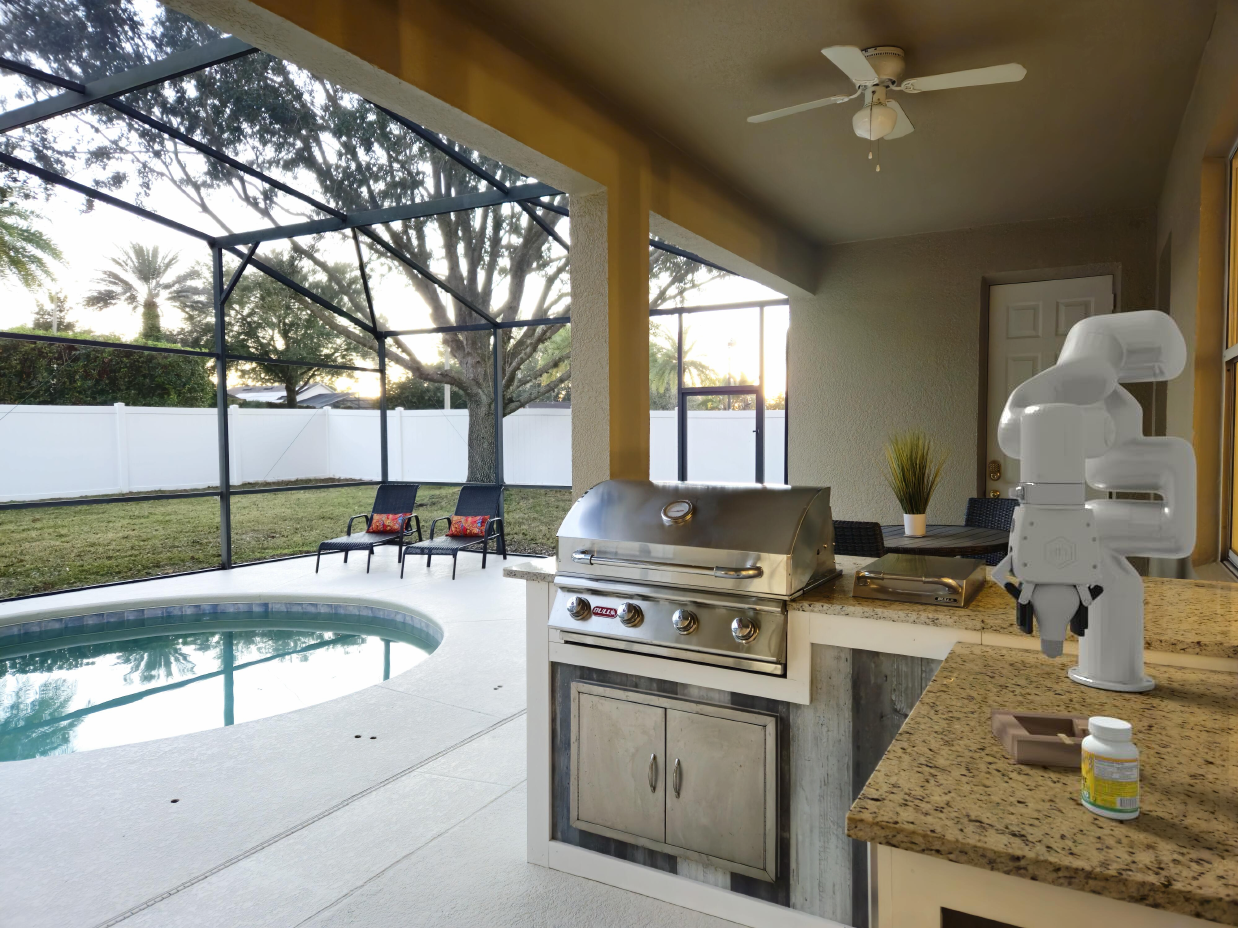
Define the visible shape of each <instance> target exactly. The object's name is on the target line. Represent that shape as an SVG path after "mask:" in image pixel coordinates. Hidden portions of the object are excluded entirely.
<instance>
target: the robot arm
mask: <svg viewBox="0 0 1238 928" xmlns="http://www.w3.org/2000/svg"><path fill="white" fill-rule="evenodd" d="M1059 354H1060V355H1059V356H1058V359H1057V361H1056V364H1055V365H1053V366H1050V367H1049V368H1047V369H1045V370H1043V371H1041V372H1040V373H1038V374H1036V375H1034V376H1032V377H1031V378H1028V379H1027V380H1025V381H1024V382H1023V383H1021V384H1019V385H1018V386H1017V387H1016V388H1015V389H1014V390H1013V391H1012V392H1011V394H1010V395H1009V397H1008V399H1007V402H1006V404H1005V405H1004V408H1003V411H1002V413H1001V416H1000V419H999V423H998V426H997V443H998V445H999V448H1000V449H1001V451H1002V452H1003V454H1004V455H1006V456H1008V457H1009V458H1011V459H1017V460H1020V462H1019V463H1020V464H1019V465H1020V482H1019V483H1018V486H1015V487H1010V488H1009V489H1008V497H1009V498H1010V499H1011V498H1012V499H1015V500H1017V501H1018V503H1019V504H1020V506H1015V507H1014V511H1013V515H1012V519H1011V525H1010V530H1009V531H1010V532H1009V538H1008V540H1009V541H1008V549H1007V550H1008V551H1007V555H1006V556H1005V557H1004V558H1003V559H1002V560H1001V561H1000V562H999V563H998V564H997V565H996V566H995V567H994V568H993V569H992V570H991V571H990V572H989V577H990V578H991V579H992V580H993V581H994V582H996V583H997V584H998V585H999V586H1000V587H1001V588H1002V589H1004V591H1005V592H1007V594H1009V595H1010V597H1012V598H1013V600H1015V602H1016V603H1015V605H1016V606H1015V607H1016V609H1015V611H1016V612H1015V613H1016V614H1015V615H1016V616H1015V622H1016V626H1017V627H1019V629H1020V631H1021V632H1022V633H1024V634H1026V635H1033V633H1034V615H1033V605H1032V604H1030V596H1031V593H1032V591H1033V588H1034V586H1035V584H1063V585H1073V586H1074V587H1075V588H1076V590H1077V592H1078V595H1079V607H1078V609H1077V611H1076V613H1075V614H1074V616H1073V617H1072V619H1071V620H1070V622H1069V630H1070V632H1071V633H1072V634H1073V635H1076V636H1077V637H1078V665H1077V666H1073V667H1072V666H1071V667H1070V668H1069V669H1068V670H1067V671H1068V673H1067V675H1068V676H1067V677H1068V678H1069V679H1070V680H1072V681H1074V682H1076V683H1079V684H1081V685H1085V686H1088V687H1092V688H1098V689H1103V690H1109V691H1118V692H1120V691H1121V692H1132V693H1133V692H1135V693H1136V692H1137V693H1138V692H1146V691H1150V690H1153V689H1154V688H1155V686H1156V685H1155V682H1156V681H1155V680H1154V678H1153V677H1151V676H1150V675H1147V674H1144V657H1145V656H1144V647H1145V646H1144V641H1145V640H1144V639H1145V638H1144V637H1145V636H1144V629H1145V628H1144V627H1145V626H1144V622H1145V619H1144V616H1145V615H1144V612H1145V611H1144V608H1145V607H1144V606H1145V605H1144V602H1145V601H1144V595H1145V594H1144V593H1145V592H1144V590H1145V588H1144V582H1143V580H1142V577H1141V576H1140V574H1139V571H1137V570H1136V568H1135V567H1133V565H1132V564H1131V563H1130V562H1129V561H1128V560H1127V558H1126V557H1141V558H1142V557H1143V558H1144V557H1145V558H1156V559H1158V558H1159V559H1183V558H1186V557H1189V556H1190V555H1191V554H1192V553H1193V552H1194V550H1195V545H1196V541H1197V512H1198V511H1197V501H1198V500H1197V493H1198V492H1197V490H1198V489H1197V488H1198V485H1197V483H1198V482H1197V481H1198V480H1197V479H1198V478H1197V477H1198V474H1197V473H1198V472H1197V458H1196V455H1195V450H1194V448H1193V446H1192V444H1191V443H1190V442H1189V441H1188V440H1186V439H1185V438H1182V437H1178V436H1168V435H1167V436H1144V434H1143V416H1144V415H1143V408H1142V405H1141V404H1140V403H1139V402H1138V400H1137V399H1136V398H1135V397H1134V396H1133V395H1132V394H1131V393H1130V392H1129V391H1128V390H1127V389H1125V388H1124V387H1123V386H1122V385H1120V384H1123V383H1124V384H1125V383H1127V384H1128V383H1129V384H1130V383H1143V382H1144V383H1146V382H1162V381H1163V382H1164V381H1169V380H1172V379H1173V380H1174V379H1175V378H1177V377H1178V376H1180V375H1181V374H1182V372H1183V370H1184V369H1185V366H1186V363H1187V345H1186V342H1185V339H1184V336H1183V334H1182V332H1181V331H1180V328H1179V326H1178V325H1177V323H1176V322H1175V320H1174V319H1173V318H1172V317H1171V316H1170V315H1169V314H1168V313H1165V312H1164V311H1160V310H1155V309H1154V310H1153V309H1151V310H1150V309H1149V310H1138V311H1129V312H1117V313H1111V314H1100V315H1093V316H1090V317H1086V318H1084V319H1081V320H1080V321H1078V322H1076V323H1075V324H1074V325H1073V326H1072V327H1071V329H1070V330H1069V332H1068V334H1067V336H1066V338H1065V340H1064V343H1063V345H1062V348H1061V352H1060V353H1059ZM1086 484H1088V485H1089V486H1090V487H1091V488H1092V489H1094V490H1099V491H1103V492H1115V493H1116V492H1120V493H1121V492H1123V493H1155V494H1158V495H1160V496H1161V497H1162V498H1163V500H1140V499H1136V500H1135V499H1122V498H1121V499H1119V498H1117V499H1114V498H1112V499H1111V498H1104V499H1102V498H1100V499H1099V498H1098V499H1091V500H1088V501H1086ZM1007 573H1008V574H1009V575H1010V576H1011V577H1013V578H1015V579H1018V580H1017V583H1016V585H1015V583H1013V582H1012V581H1010V579H1008V577H1007Z"/></svg>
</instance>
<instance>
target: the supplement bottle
mask: <svg viewBox="0 0 1238 928" xmlns="http://www.w3.org/2000/svg"><path fill="white" fill-rule="evenodd" d="M1088 719H1089V726H1088V729H1089V732H1090V733H1091V734H1092V735H1089V736H1087V737H1085V738H1084V739H1083V741H1082V768H1081V803H1082V805H1083V806H1084V807H1085V808H1086V809H1087V810H1089V811H1090V812H1091V813H1094V814H1096V815H1099V816H1102V817H1104V818H1108V819H1109V818H1110V819H1113V820H1114V819H1115V820H1132V819H1135V818H1137V817H1138V816H1139V814H1140V751H1139V749H1138V747H1137V746H1136V744H1134V743H1133V742H1131V741H1130V740H1131V739H1132V737H1133V728H1132V727H1133V726H1132V724H1131V723H1129V722H1128V721H1125V720H1122V719H1119V718H1113V717H1110V716H1109V717H1108V716H1091V717H1089V718H1088Z"/></svg>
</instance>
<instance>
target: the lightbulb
mask: <svg viewBox="0 0 1238 928" xmlns="http://www.w3.org/2000/svg"><path fill="white" fill-rule="evenodd" d="M1030 604H1032V605H1033V618H1034V619H1035V622H1036V625H1037V629H1038V636H1039V638H1040V652H1041V653H1042V654H1043V655H1045V656H1046V657H1047V658H1049V659H1052V660H1053V659H1057V658H1058V657H1060V656H1062V655H1063V653H1064V652H1063V651H1064V641H1065V640H1066V638H1067V637H1066V636H1067V631H1068V626H1069V625H1070V620H1071V619H1072V617H1073V616H1074V614H1075V613H1076V611H1077V609H1078V607H1079V595H1078V592H1077V590H1076V588H1075V587H1074V586H1073V585H1063V584H1035V586H1034V588H1033V591H1032V593H1031V596H1030Z"/></svg>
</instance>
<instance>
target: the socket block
mask: <svg viewBox="0 0 1238 928" xmlns="http://www.w3.org/2000/svg"><path fill="white" fill-rule="evenodd" d="M1088 726H1089V718H1088V717H1087V716H1085V715H1084V714H1073V713H1071V714H1070V713H1056V712H1054V713H1053V712H1041V711H1038V712H1037V711H1020V710H1004V709H990V732H991V731H992V732H993V733H992V732H991V733H992V734H993V735H994V737H995V736H996V737H997V738H996V737H995V738H996V739H997V740H998V742H999V741H1000V742H1001V743H1002V744H1001V743H1000V742H999V743H1000V744H1001V745H1002V747H1003V746H1004V747H1005V748H1006V749H1007V750H1006V749H1005V748H1004V747H1003V748H1004V749H1005V750H1006V751H1007V753H1008V752H1009V753H1008V754H1009V755H1010V756H1011V758H1012V759H1013V760H1014V762H1016V764H1023V765H1024V764H1025V765H1027V764H1028V765H1038V766H1040V765H1041V766H1053V767H1054V766H1055V767H1069V768H1079V769H1080V768H1081V769H1082V741H1083V739H1084V738H1085V737H1087V736H1089V735H1092V734H1091V733H1090V732H1089V729H1088Z"/></svg>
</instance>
